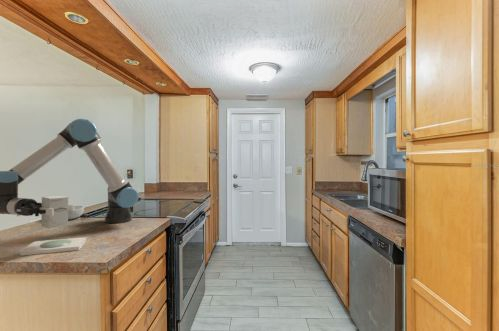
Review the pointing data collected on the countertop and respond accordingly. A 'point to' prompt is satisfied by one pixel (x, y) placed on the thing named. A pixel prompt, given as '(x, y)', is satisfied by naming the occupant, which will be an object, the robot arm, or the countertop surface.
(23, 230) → the countertop surface
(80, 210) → the cereal bowl
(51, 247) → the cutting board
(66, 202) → the supplement box
